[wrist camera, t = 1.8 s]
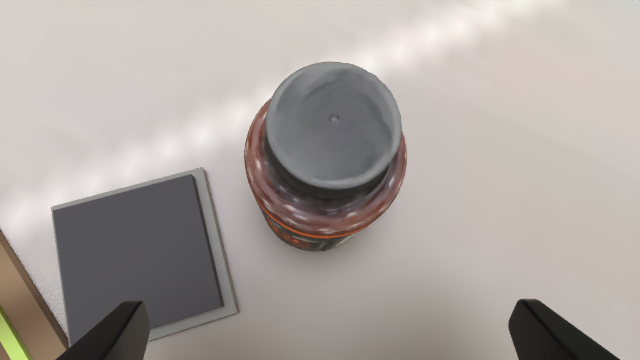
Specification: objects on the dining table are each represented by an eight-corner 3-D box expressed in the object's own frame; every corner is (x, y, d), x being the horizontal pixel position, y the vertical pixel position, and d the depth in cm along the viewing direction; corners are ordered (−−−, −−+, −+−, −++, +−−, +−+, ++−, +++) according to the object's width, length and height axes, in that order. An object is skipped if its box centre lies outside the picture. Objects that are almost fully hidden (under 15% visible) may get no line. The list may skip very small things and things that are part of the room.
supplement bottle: (240, 209, 21) (180, 134, 10) (304, 132, 23) (311, -6, 12) (325, 275, 21) (358, 268, 10) (386, 191, 22) (473, 102, 11)
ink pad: (238, 311, 20) (233, 314, 18) (80, 361, 19) (61, 369, 17) (205, 171, 22) (198, 162, 20) (60, 209, 21) (41, 203, 19)
